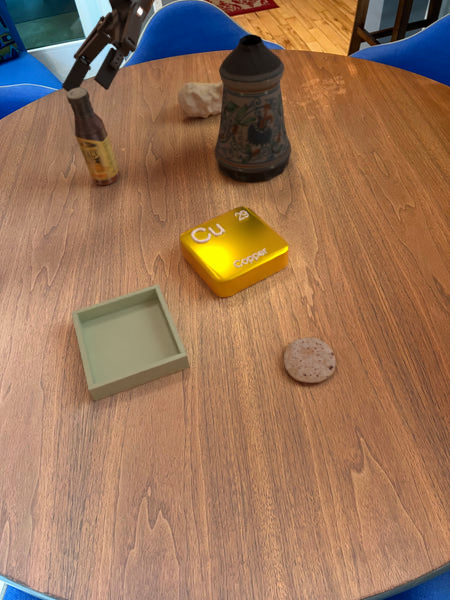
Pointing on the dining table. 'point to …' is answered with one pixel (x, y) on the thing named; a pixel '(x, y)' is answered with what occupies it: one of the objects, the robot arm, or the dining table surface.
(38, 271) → the dining table surface
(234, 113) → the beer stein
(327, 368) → the flatbread
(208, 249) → the element tile
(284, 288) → the dining table surface
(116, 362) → the serving tray
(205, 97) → the beige rock
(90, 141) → the sauce bottle
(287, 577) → the dining table surface
